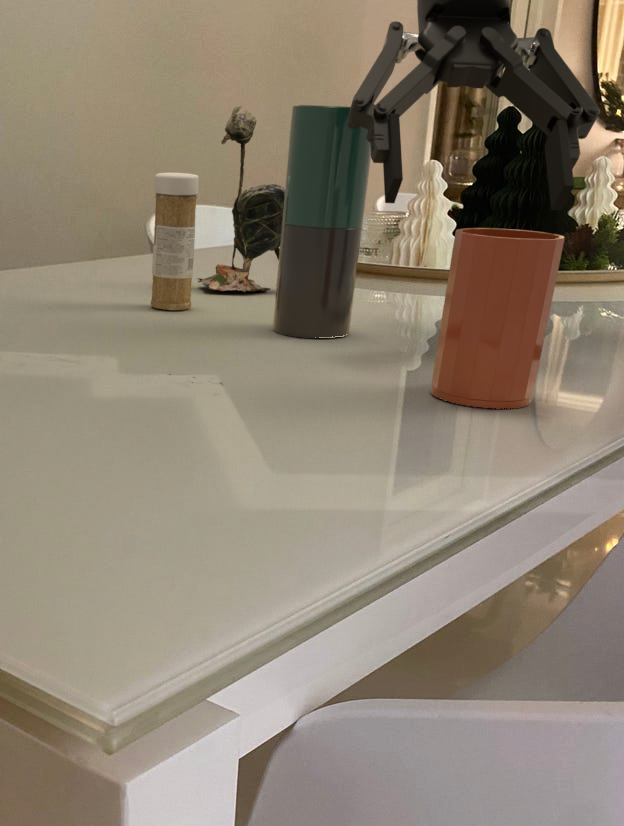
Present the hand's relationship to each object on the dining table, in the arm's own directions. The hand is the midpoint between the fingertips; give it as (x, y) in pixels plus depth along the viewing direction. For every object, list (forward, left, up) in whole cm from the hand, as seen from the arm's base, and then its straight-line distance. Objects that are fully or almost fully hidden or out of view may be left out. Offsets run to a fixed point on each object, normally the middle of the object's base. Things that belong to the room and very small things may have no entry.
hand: (478, 195), depth 84 cm
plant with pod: (+12, -43, -14) cm, 47 cm away
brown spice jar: (+22, -29, -14) cm, 39 cm away
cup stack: (+9, -17, -14) cm, 24 cm away
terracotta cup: (+1, +9, -14) cm, 17 cm away
